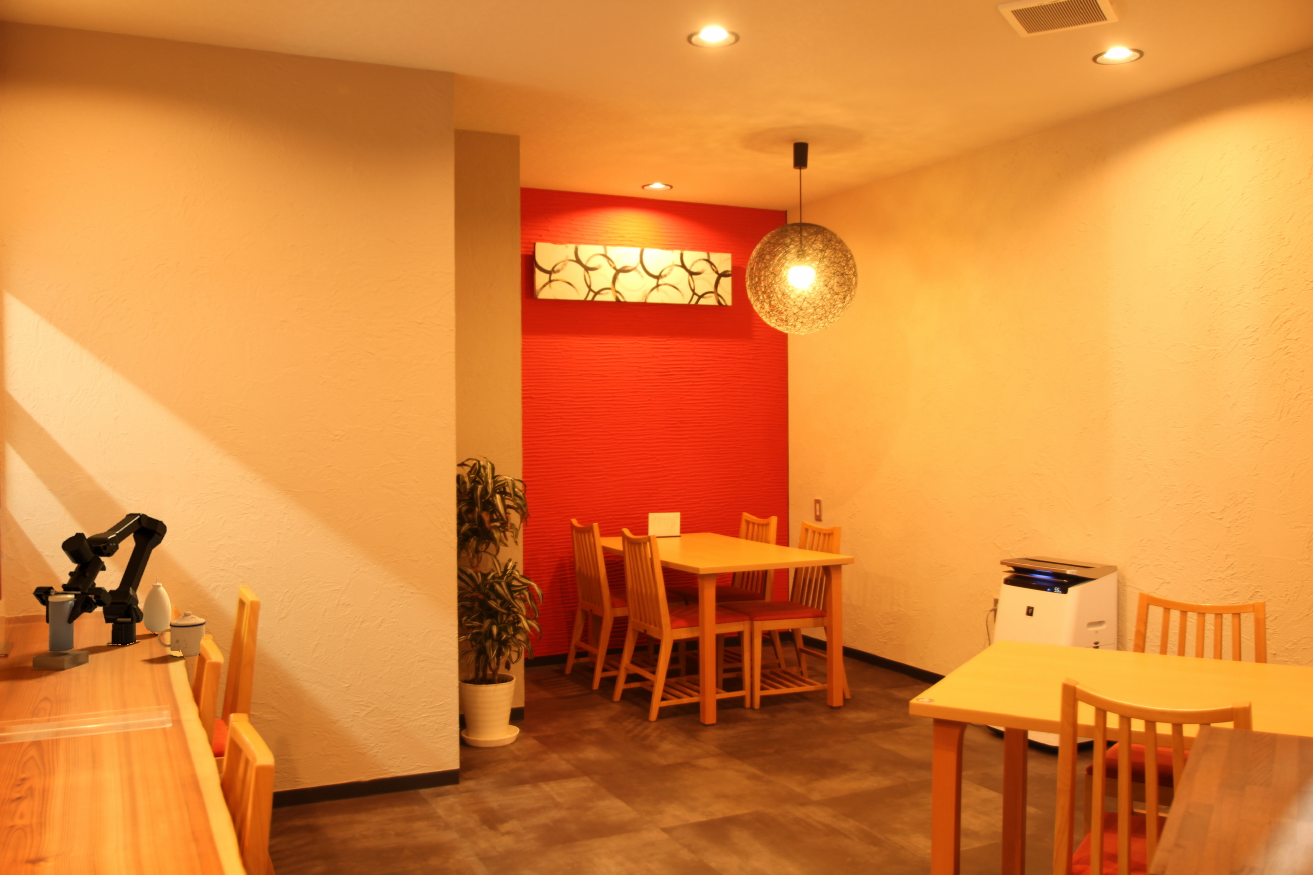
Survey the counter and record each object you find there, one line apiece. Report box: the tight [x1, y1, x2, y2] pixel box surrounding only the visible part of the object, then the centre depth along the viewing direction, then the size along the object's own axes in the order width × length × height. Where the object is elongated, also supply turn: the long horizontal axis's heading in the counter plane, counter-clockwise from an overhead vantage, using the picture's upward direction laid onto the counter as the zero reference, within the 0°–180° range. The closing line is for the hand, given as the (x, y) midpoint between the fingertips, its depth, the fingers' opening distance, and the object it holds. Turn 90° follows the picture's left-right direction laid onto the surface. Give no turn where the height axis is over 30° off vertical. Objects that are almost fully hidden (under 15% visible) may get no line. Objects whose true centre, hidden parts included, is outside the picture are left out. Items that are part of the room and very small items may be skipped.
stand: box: [31, 650, 90, 671], centre depth 259 cm, size 9×9×3 cm
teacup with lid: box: [157, 611, 207, 658], centre depth 273 cm, size 12×9×12 cm
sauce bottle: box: [142, 574, 172, 634], centre depth 301 cm, size 8×8×18 cm
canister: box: [48, 594, 75, 652], centre depth 259 cm, size 6×6×14 cm
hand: (58, 622), depth 257 cm, fingers closed on canister, 5 cm apart
